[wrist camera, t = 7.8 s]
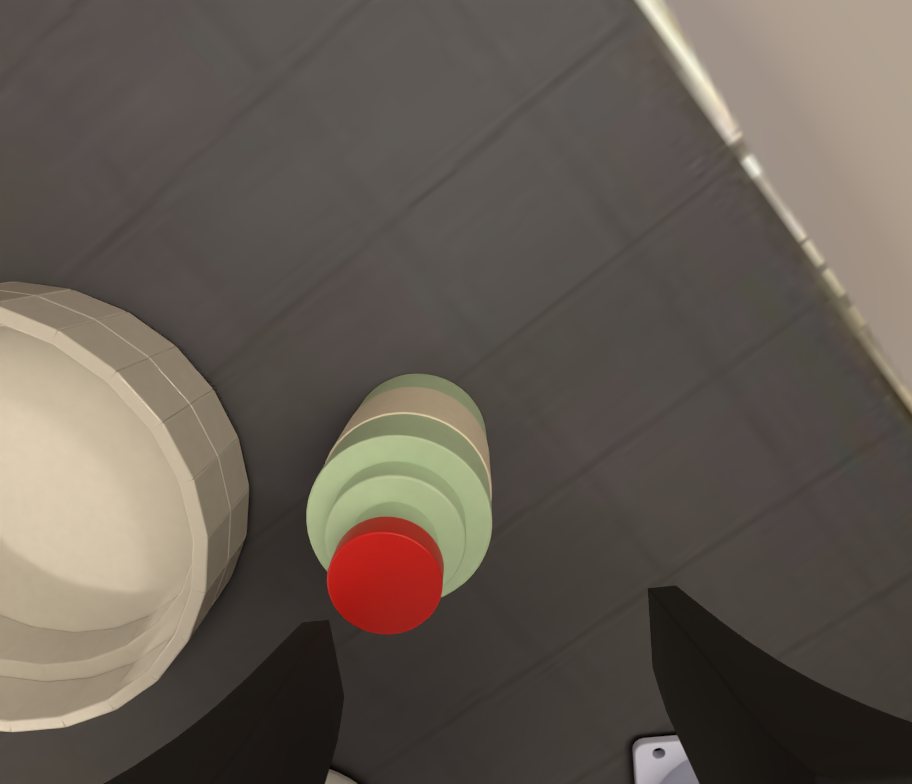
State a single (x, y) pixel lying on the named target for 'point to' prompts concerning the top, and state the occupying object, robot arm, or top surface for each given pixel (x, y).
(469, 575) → the bottle
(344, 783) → the supplement tub
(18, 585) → the pan
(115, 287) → the top surface
